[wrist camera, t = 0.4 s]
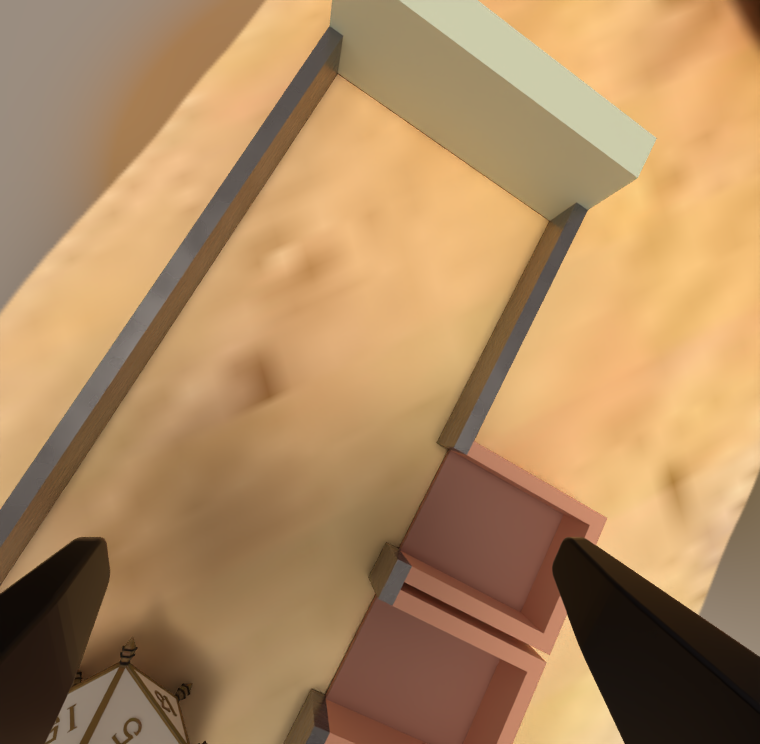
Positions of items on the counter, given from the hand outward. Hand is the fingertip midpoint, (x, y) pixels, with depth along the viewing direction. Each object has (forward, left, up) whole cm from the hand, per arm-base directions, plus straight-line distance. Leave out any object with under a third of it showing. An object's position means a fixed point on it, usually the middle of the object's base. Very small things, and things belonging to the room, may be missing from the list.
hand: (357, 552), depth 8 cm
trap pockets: (-10, -5, -14) cm, 18 cm away
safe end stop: (+16, -13, -14) cm, 25 cm away
